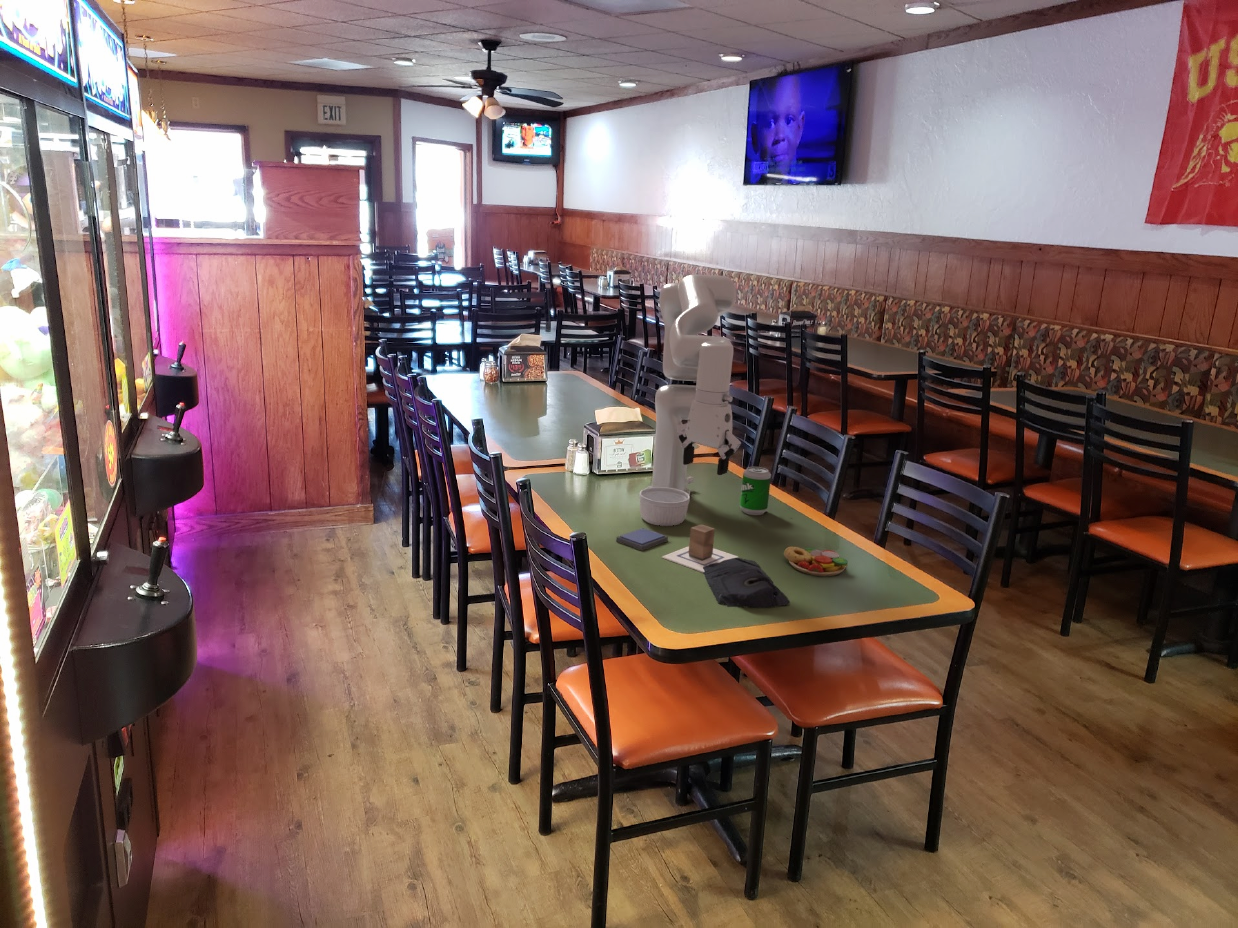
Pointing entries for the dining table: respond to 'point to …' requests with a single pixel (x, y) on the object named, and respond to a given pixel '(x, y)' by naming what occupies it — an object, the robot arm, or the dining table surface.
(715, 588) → the black fabric pouch
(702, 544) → the stamp
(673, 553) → the sheet
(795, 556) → the toy food set
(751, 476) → the soda can
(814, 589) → the dining table surface
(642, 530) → the ink pad
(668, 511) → the ramekin
